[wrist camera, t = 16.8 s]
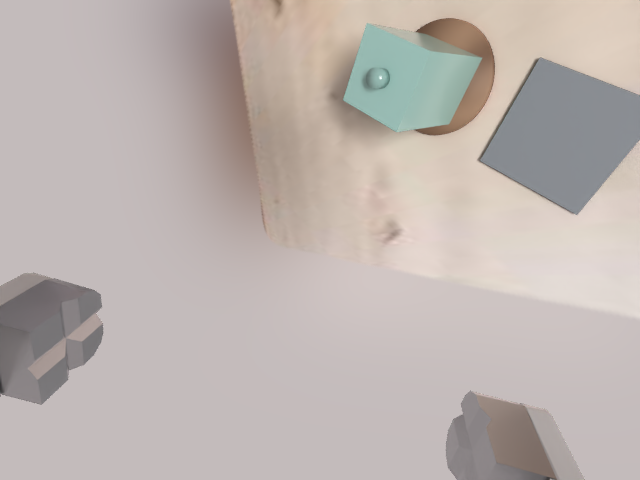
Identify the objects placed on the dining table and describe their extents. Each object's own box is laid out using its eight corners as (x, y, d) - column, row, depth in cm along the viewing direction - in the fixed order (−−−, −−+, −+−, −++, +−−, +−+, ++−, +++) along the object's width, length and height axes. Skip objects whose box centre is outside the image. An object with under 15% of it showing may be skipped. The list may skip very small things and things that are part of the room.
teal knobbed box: (400, 97, 42) (334, 100, 34) (426, 34, 38) (358, 21, 30) (449, 124, 39) (388, 133, 31) (482, 57, 35) (422, 50, 27)
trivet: (380, 67, 43) (376, 67, 43) (463, -9, 35) (461, -10, 35) (420, 152, 43) (417, 153, 42) (515, 95, 35) (512, 95, 34)
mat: (481, 160, 38) (479, 160, 38) (541, 57, 32) (539, 57, 32) (577, 213, 34) (576, 214, 33) (667, 106, 28) (667, 106, 28)
